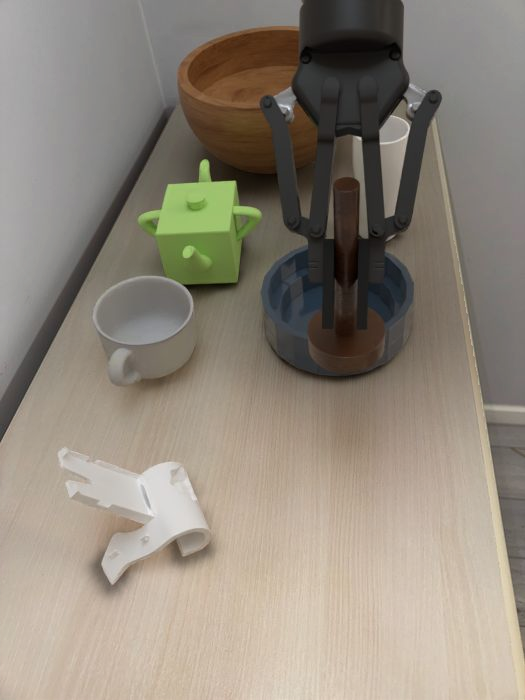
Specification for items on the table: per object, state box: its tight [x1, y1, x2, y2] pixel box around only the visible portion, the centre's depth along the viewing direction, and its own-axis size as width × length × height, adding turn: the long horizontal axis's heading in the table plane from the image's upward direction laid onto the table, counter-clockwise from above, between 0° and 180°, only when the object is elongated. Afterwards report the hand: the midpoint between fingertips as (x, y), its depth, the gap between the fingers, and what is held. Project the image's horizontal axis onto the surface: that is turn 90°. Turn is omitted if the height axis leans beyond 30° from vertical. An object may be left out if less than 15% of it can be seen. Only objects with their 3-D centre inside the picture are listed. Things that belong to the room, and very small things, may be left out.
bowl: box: [176, 25, 318, 175], centre depth 98 cm, size 25×25×15 cm
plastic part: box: [57, 446, 212, 586], centre depth 58 cm, size 8×10×12 cm
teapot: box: [137, 158, 263, 286], centre depth 84 cm, size 15×13×11 cm
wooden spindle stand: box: [307, 176, 386, 374], centre depth 51 cm, size 6×6×16 cm
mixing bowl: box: [260, 244, 415, 377], centre depth 76 cm, size 17×17×6 cm
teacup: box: [91, 275, 197, 388], centre depth 74 cm, size 14×11×8 cm
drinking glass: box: [351, 115, 411, 242], centre depth 84 cm, size 7×7×15 cm
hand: (344, 328), depth 50 cm, fingers closed on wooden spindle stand, 2 cm apart
